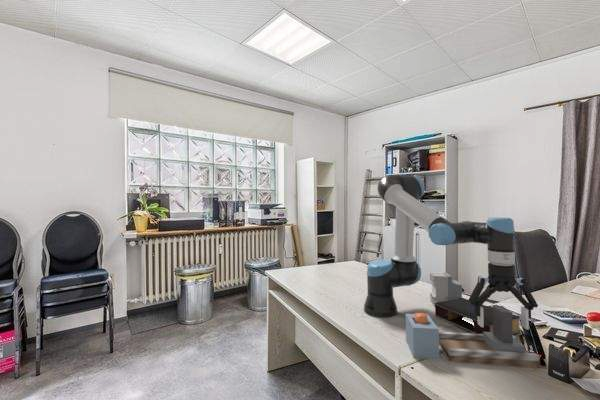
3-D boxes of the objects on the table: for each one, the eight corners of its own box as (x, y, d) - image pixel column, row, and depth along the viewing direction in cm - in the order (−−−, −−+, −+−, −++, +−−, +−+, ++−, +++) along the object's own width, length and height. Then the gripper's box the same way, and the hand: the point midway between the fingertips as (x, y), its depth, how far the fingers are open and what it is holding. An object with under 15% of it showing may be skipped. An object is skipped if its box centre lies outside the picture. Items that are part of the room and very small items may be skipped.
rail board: (450, 361, 92) (449, 350, 92) (436, 340, 106) (436, 331, 106) (540, 368, 88) (540, 356, 88) (513, 345, 102) (513, 335, 102)
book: (490, 343, 105) (489, 324, 105) (434, 317, 128) (434, 302, 128) (520, 334, 111) (519, 317, 111) (462, 311, 135) (462, 297, 135)
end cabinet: (413, 357, 95) (413, 327, 95) (406, 340, 107) (405, 313, 107) (439, 359, 94) (438, 328, 94) (428, 341, 106) (428, 314, 106)
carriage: (497, 354, 92) (496, 313, 92) (483, 340, 102) (482, 303, 102) (524, 356, 91) (524, 315, 91) (508, 341, 100) (507, 304, 100)
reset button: (416, 329, 99) (416, 317, 99) (413, 324, 103) (413, 312, 103) (428, 329, 98) (428, 317, 98) (425, 324, 102) (425, 313, 102)
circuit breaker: (465, 308, 138) (465, 277, 138) (434, 306, 141) (433, 275, 141) (460, 302, 145) (459, 273, 145) (430, 301, 148) (429, 272, 148)
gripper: (465, 265, 95) (467, 329, 94) (550, 266, 91) (552, 333, 91) (457, 260, 102) (458, 320, 102) (535, 261, 98) (536, 323, 98)
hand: (502, 326), depth 96 cm, fingers open, 13 cm apart
